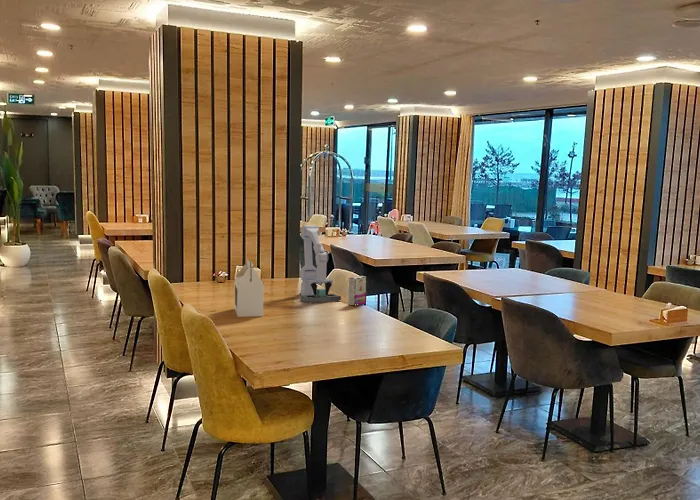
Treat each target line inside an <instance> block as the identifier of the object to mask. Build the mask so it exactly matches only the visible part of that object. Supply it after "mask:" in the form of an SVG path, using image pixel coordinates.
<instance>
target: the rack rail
mask: <svg viewBox="0 0 700 500" xmlns="http://www.w3.org/2000/svg"><path fill="white" fill-rule="evenodd" d="M301 300H302V302H303V301H304V303H306V304H315V303H314V302H319V303H326V302H325V301H335V302H340V301H339V300H342V296H341V295H340V294H336V293H328V295H325V296H323V297H318V296H317V294H316V296H315V295H301V294H300V301H301Z"/></svg>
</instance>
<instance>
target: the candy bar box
mask: <svg viewBox="0 0 700 500" xmlns="http://www.w3.org/2000/svg"><path fill="white" fill-rule="evenodd" d="M366 300H367V276H364V275H359V276H353V277H352V276H351V277H349V278H348V305H349V304H351V305H355V304H356V305H357V304H358V306H361V305H366V303H367V301H366Z"/></svg>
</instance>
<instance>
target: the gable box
mask: <svg viewBox="0 0 700 500" xmlns="http://www.w3.org/2000/svg"><path fill="white" fill-rule="evenodd" d="M254 266H255V264H254V263H253V262H252V260H250V259H248V258H247V260H246V264H243V266H242V267H241V268H240V271H239V272H238V273H237V274H236V276H235V277H234V306H233V308H234V311H235V314H236V316H237V318H239V317H240V318H241V317H242V318H243V317H245V318H246V317H248V318H249V317H264V289H265V288H264V287H265V285H264V282H263V281H262V279H261V278H260V276H259V275H258V273H257V271H256V270H255V268H254Z"/></svg>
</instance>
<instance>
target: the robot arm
mask: <svg viewBox="0 0 700 500" xmlns="http://www.w3.org/2000/svg"><path fill="white" fill-rule="evenodd" d="M319 232H320V228H319V226H318V225H317V224H313V225H311V224H309V225H307V224H306V225H305V224H302V225H301V229H300V234H301V235H300V237H301V239H302V240H303V248H304V249H303V251H304V252H303V253H304V254H303V255H304V266H303V267H301V268H300V275H299V277H300V280H301V281H302V282H301V283H300V292H299V295H300V296H301V295H315V296H316V294H317V289H318V284H324V289H325V290H326V291H325V295H328V294H329V292H330V289H331V287H332V286H333V281H334V280H333V279H332V278H331V279H329V278H327V263H328V261H329V253H328V252H327V250H325V249H324V246H323V243H321V242H320V239H319ZM313 251H314V255H315V257H314V258H315V266H316V267H315V266H314V264H313V262H314V261H313Z"/></svg>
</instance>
